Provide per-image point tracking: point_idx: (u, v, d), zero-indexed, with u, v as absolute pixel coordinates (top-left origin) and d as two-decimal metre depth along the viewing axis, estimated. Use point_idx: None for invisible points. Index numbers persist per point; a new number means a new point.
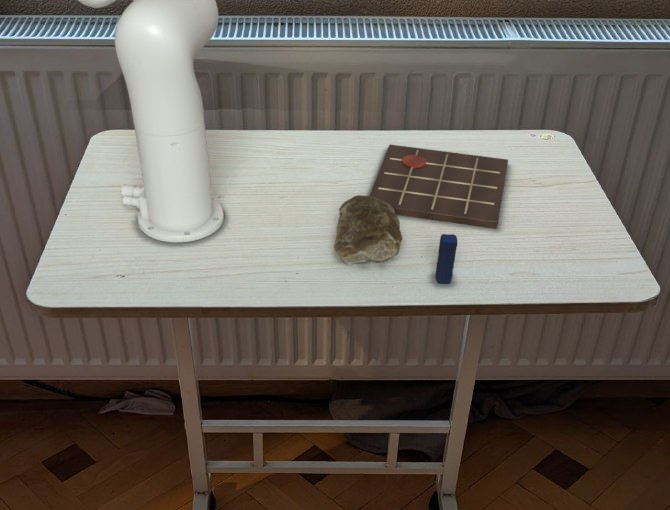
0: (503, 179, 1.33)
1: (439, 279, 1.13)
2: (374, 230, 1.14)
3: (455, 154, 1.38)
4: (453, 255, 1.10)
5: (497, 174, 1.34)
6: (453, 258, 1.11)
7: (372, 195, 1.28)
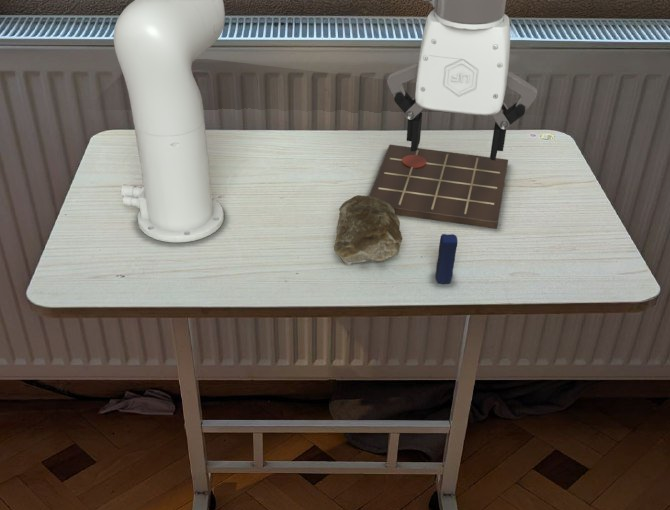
0: (503, 179, 1.33)
1: (439, 279, 1.13)
2: (374, 230, 1.14)
3: (455, 154, 1.38)
4: (453, 255, 1.10)
5: (497, 174, 1.34)
6: (453, 258, 1.11)
7: (372, 195, 1.28)
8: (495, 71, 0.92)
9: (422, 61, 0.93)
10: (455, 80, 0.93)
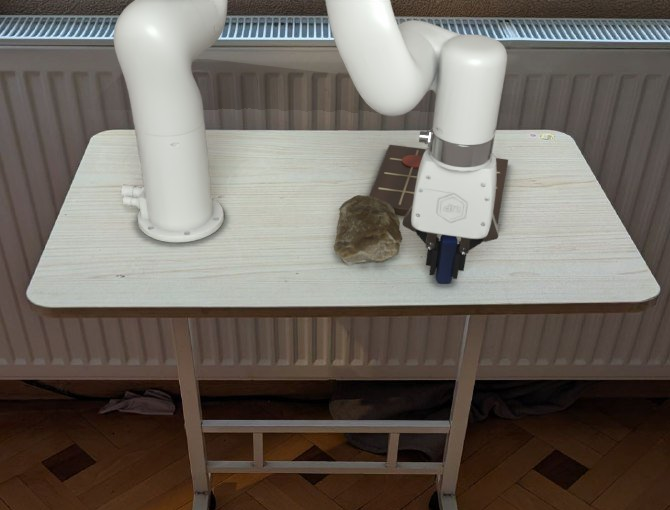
0: (503, 179, 1.33)
1: (439, 279, 1.13)
2: (374, 230, 1.14)
3: None
4: (453, 255, 1.10)
5: (497, 174, 1.34)
6: (453, 258, 1.11)
7: (372, 195, 1.28)
8: (483, 204, 1.02)
9: (417, 192, 1.03)
10: (447, 209, 1.04)
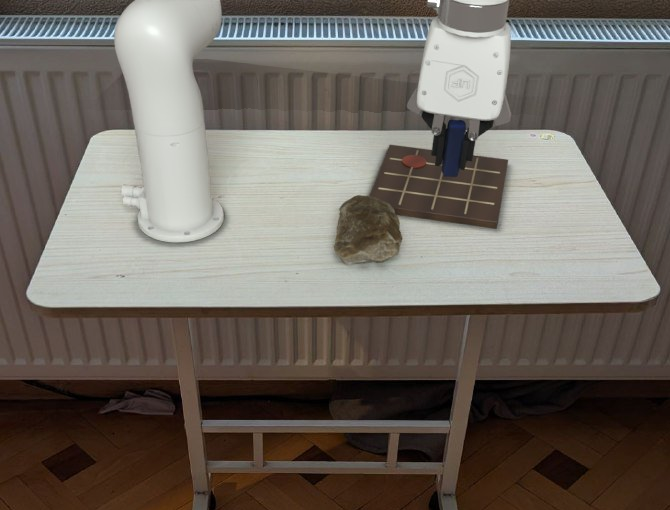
0: (503, 179, 1.33)
1: (445, 171, 1.05)
2: (374, 230, 1.14)
3: None
4: (461, 142, 1.02)
5: (497, 174, 1.34)
6: (461, 146, 1.03)
7: (372, 195, 1.28)
8: (495, 78, 0.94)
9: (424, 65, 0.95)
10: (456, 85, 0.96)
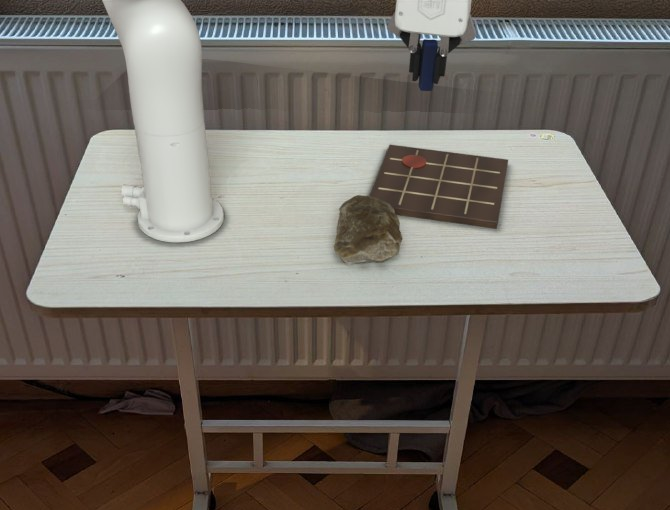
0: (503, 179, 1.33)
1: (421, 86, 1.22)
2: (374, 230, 1.14)
3: (455, 154, 1.38)
4: (434, 59, 1.19)
5: (497, 174, 1.34)
6: (434, 62, 1.20)
7: (372, 195, 1.28)
8: None
9: None
10: (427, 6, 1.13)
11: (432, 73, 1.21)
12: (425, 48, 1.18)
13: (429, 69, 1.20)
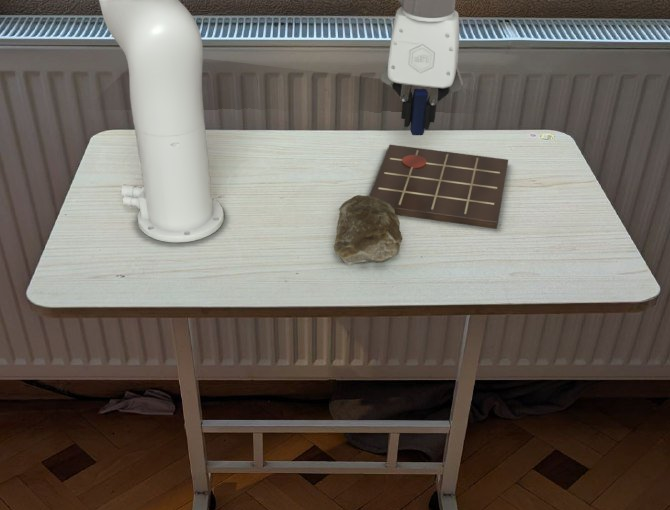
0: (503, 179, 1.33)
1: (413, 131, 1.31)
2: (374, 230, 1.14)
3: (455, 154, 1.38)
4: (424, 107, 1.29)
5: (497, 174, 1.34)
6: (424, 110, 1.29)
7: (372, 195, 1.28)
8: (447, 54, 1.21)
9: (392, 45, 1.22)
10: (417, 60, 1.22)
11: (423, 119, 1.30)
12: (416, 97, 1.28)
13: (420, 116, 1.30)
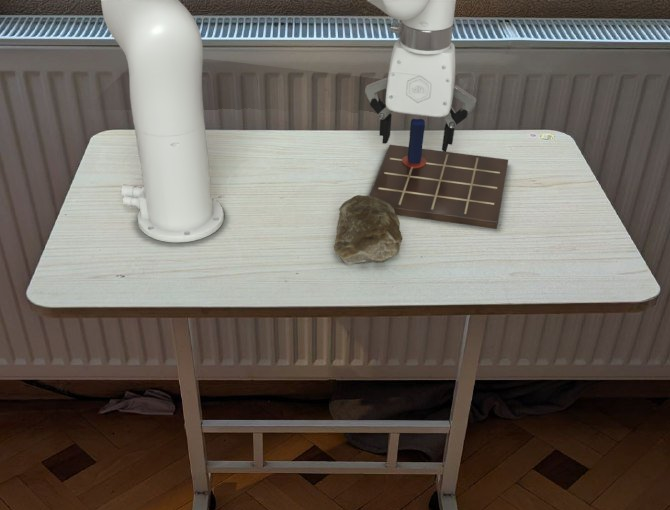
0: (503, 179, 1.33)
1: (410, 159, 1.35)
2: (374, 230, 1.14)
3: (455, 154, 1.38)
4: (421, 136, 1.32)
5: (497, 174, 1.34)
6: (421, 139, 1.32)
7: (372, 195, 1.28)
8: (444, 85, 1.24)
9: (390, 76, 1.25)
10: (415, 91, 1.25)
11: (420, 148, 1.33)
12: (413, 127, 1.31)
13: (417, 145, 1.33)
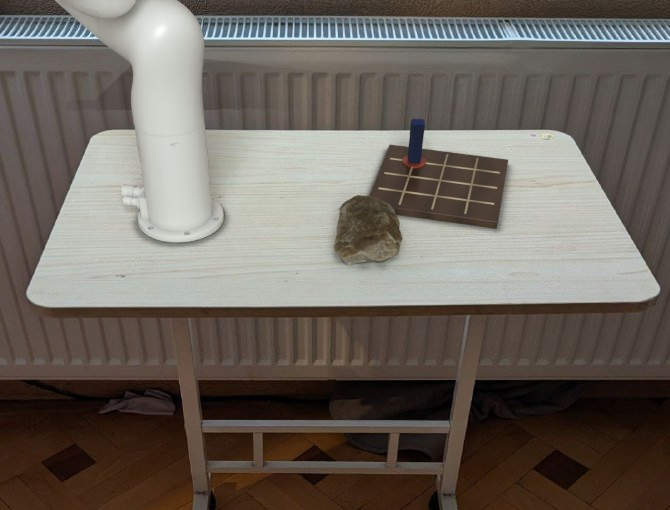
0: (503, 179, 1.33)
1: (410, 159, 1.35)
2: (374, 230, 1.14)
3: (455, 154, 1.38)
4: (421, 136, 1.32)
5: (497, 174, 1.34)
6: (421, 139, 1.32)
7: (372, 195, 1.28)
8: None
9: None
10: None
11: (420, 148, 1.33)
12: (413, 127, 1.31)
13: (417, 145, 1.33)
